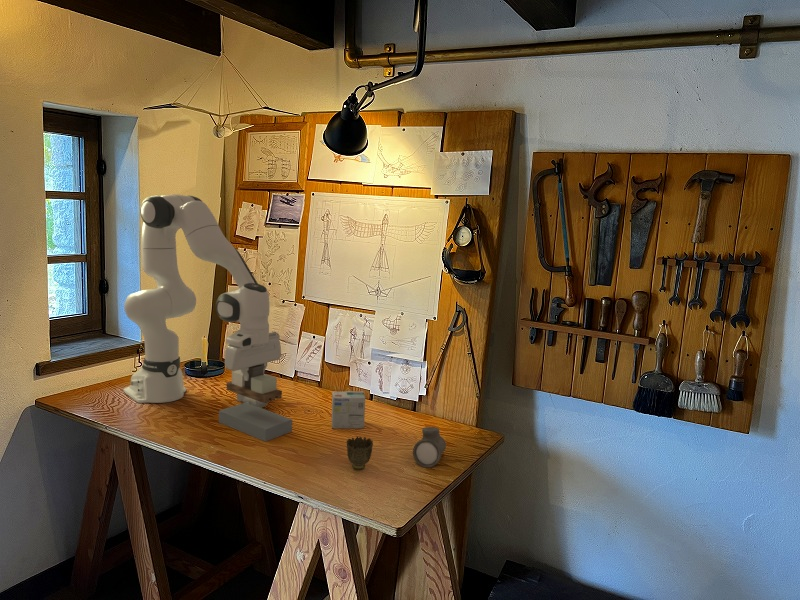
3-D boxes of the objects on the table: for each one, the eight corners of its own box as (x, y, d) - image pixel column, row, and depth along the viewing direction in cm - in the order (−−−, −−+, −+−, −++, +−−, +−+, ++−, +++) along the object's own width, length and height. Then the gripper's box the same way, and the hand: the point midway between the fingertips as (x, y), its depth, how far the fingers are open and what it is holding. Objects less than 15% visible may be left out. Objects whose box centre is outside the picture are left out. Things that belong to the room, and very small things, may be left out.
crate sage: (250, 390, 194) (251, 377, 193) (265, 385, 199) (265, 373, 198) (261, 394, 191) (262, 381, 190) (276, 389, 196) (276, 377, 195)
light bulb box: (362, 421, 210) (364, 390, 208) (364, 428, 203) (366, 397, 201) (330, 421, 208) (331, 390, 206) (331, 429, 201) (333, 397, 200)
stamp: (253, 413, 211) (253, 389, 209) (239, 408, 214) (240, 385, 213) (272, 406, 218) (273, 383, 217) (259, 401, 222) (259, 379, 220)
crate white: (231, 383, 199) (232, 371, 198) (246, 379, 204) (246, 367, 203) (242, 387, 196) (242, 375, 196) (256, 383, 201) (257, 371, 200)
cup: (345, 462, 178) (346, 435, 177) (371, 462, 179) (372, 436, 177) (345, 474, 171) (346, 446, 169) (372, 474, 172) (373, 447, 170)
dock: (218, 422, 201) (218, 410, 200) (245, 413, 210) (245, 402, 209) (265, 441, 189) (265, 429, 188) (291, 431, 198) (292, 419, 197)
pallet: (226, 389, 200) (226, 361, 199) (243, 384, 206) (243, 357, 204) (264, 403, 190) (265, 373, 188) (281, 398, 196) (282, 369, 194)
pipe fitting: (438, 470, 176) (439, 434, 175) (411, 466, 179) (412, 430, 178) (450, 458, 187) (451, 424, 187) (425, 455, 190) (426, 421, 189)
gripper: (272, 329, 205) (271, 369, 207) (221, 339, 188) (221, 383, 191) (286, 332, 201) (285, 373, 204) (235, 343, 185) (235, 387, 187)
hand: (253, 378), depth 197 cm, fingers closed on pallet, 4 cm apart
